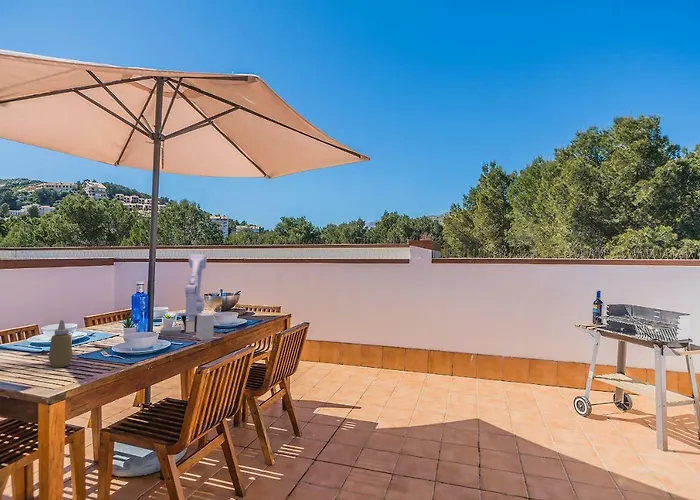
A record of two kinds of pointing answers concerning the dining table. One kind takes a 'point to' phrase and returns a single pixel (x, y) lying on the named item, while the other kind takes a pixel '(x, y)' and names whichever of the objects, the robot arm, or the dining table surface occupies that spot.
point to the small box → (205, 326)
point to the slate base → (170, 331)
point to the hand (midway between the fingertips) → (190, 329)
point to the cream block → (190, 326)
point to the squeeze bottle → (60, 347)
